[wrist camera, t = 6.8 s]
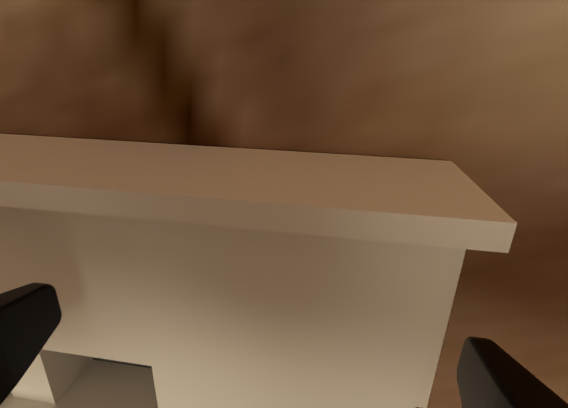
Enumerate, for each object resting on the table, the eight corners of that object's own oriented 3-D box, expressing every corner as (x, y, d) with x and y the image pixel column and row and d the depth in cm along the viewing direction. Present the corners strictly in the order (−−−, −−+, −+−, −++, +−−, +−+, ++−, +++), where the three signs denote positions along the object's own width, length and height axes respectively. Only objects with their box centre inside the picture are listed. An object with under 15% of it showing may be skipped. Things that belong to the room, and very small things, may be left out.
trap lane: (398, 412, 12) (419, 548, 8) (-151, 326, 15) (-291, 402, 11) (451, 160, 8) (518, 223, 5) (-268, 117, 11) (-509, 139, 8)
